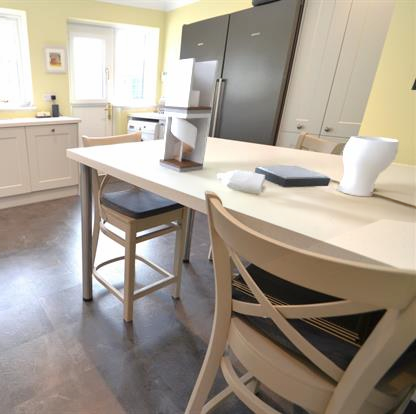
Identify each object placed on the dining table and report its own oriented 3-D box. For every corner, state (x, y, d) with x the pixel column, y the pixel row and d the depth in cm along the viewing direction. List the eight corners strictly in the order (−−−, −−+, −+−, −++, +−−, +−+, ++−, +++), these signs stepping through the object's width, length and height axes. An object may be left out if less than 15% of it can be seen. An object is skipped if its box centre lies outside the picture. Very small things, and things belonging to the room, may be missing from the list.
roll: (218, 183, 86) (221, 165, 84) (261, 191, 80) (266, 172, 78) (212, 188, 81) (215, 169, 79) (258, 197, 75) (263, 176, 73)
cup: (338, 195, 78) (358, 140, 72) (325, 184, 87) (342, 134, 81) (387, 201, 74) (411, 143, 69) (368, 189, 83) (388, 137, 78)
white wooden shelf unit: (159, 164, 107) (168, 61, 94) (181, 162, 111) (193, 63, 98) (179, 172, 98) (193, 58, 84) (202, 169, 102) (218, 60, 89)
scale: (295, 173, 99) (298, 165, 97) (330, 185, 86) (334, 176, 85) (253, 174, 96) (255, 165, 95) (283, 187, 84) (286, 177, 82)
